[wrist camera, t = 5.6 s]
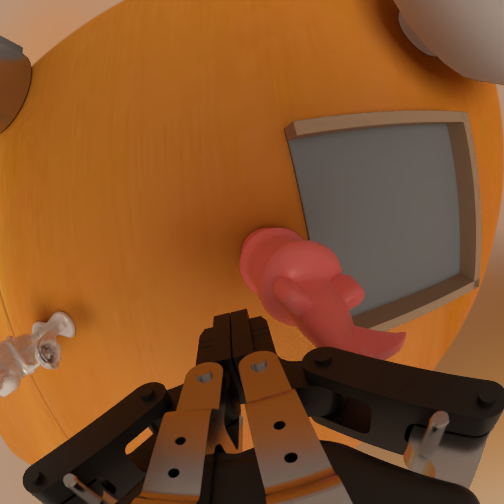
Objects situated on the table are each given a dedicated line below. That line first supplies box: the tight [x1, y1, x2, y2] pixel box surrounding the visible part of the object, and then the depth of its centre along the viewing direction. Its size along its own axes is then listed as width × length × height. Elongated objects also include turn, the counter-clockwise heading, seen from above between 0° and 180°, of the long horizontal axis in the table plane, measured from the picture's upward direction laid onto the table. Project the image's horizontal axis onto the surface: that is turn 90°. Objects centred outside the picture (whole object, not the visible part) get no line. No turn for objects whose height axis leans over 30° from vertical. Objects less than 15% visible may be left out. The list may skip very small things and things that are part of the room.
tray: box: [284, 111, 481, 332], centre depth 21 cm, size 18×18×3 cm
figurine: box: [0, 311, 76, 397], centre depth 16 cm, size 5×9×12 cm, turn 125°
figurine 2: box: [240, 228, 406, 360], centre depth 15 cm, size 5×5×15 cm
